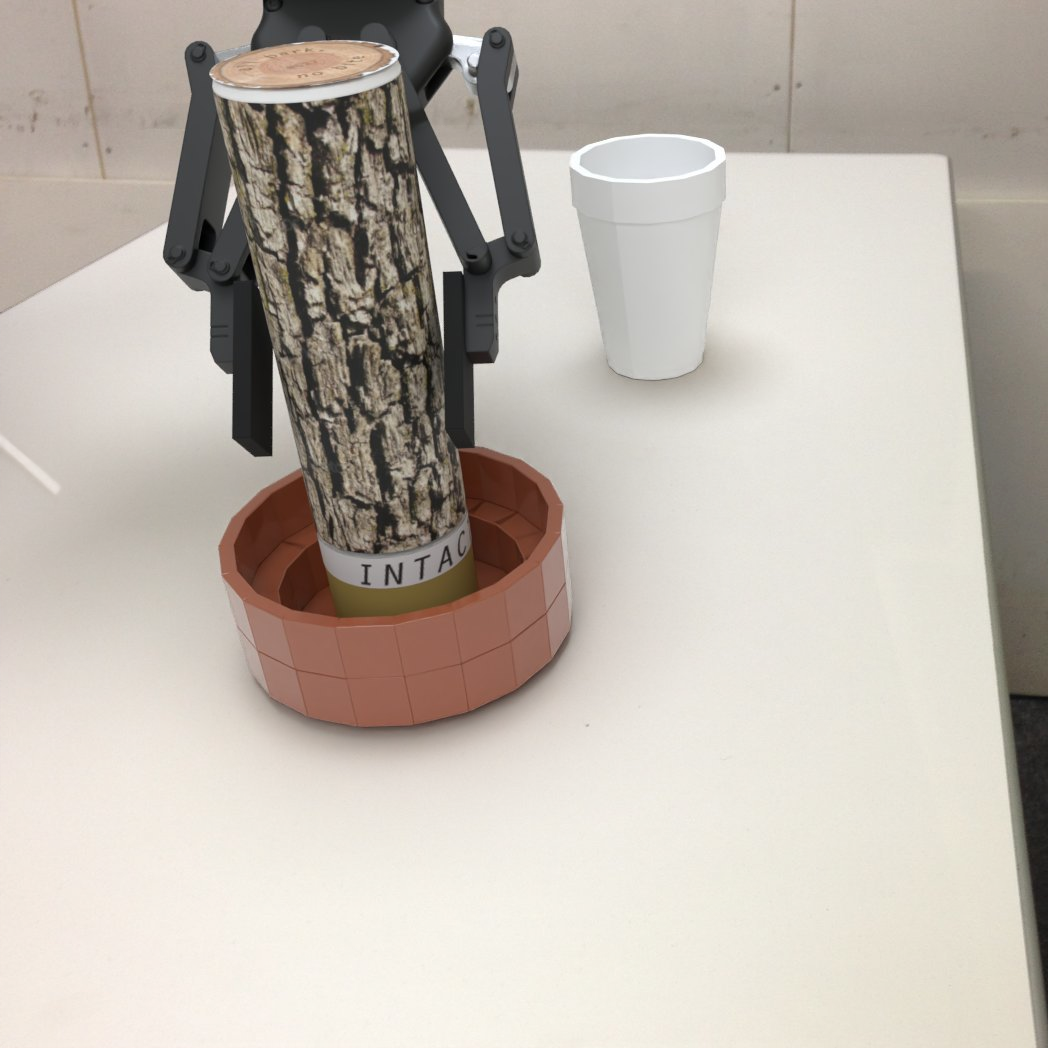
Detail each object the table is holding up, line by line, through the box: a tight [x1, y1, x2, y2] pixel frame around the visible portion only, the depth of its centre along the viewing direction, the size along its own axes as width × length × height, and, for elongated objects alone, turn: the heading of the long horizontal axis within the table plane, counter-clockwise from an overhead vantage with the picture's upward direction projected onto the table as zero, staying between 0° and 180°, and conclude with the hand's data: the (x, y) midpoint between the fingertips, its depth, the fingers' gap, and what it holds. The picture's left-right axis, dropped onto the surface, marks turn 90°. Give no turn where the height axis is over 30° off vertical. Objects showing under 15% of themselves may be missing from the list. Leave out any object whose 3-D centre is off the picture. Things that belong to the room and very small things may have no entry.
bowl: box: [217, 445, 573, 728], centre depth 60 cm, size 15×15×6 cm
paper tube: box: [210, 40, 479, 618], centre depth 54 cm, size 7×7×25 cm
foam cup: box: [568, 133, 727, 381], centre depth 80 cm, size 10×9×13 cm
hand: (356, 442), depth 52 cm, fingers open, 8 cm apart
